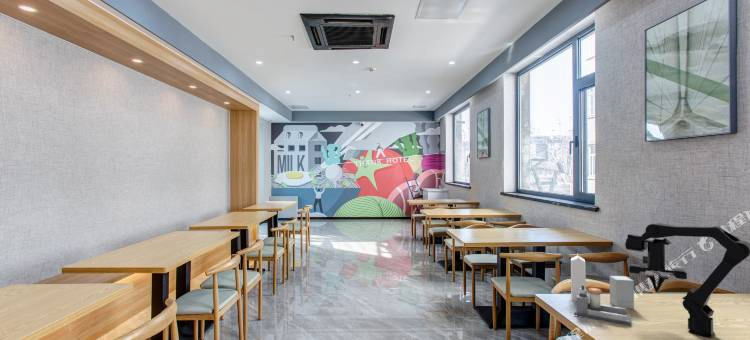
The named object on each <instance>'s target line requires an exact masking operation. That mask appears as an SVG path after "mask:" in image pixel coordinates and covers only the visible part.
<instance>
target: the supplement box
mask: <svg viewBox="0 0 750 340" xmlns="http://www.w3.org/2000/svg"><path fill="white" fill-rule="evenodd" d="M634 284H635V281H634V280H633V279H631V278H630V277H628V276H625V275H609V303H610V304H612V305H613V307H619V308H625V309H635V293H634V292H635V287H634Z"/></svg>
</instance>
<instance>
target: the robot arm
mask: <svg viewBox="0 0 750 340" xmlns="http://www.w3.org/2000/svg"><path fill="white" fill-rule="evenodd" d="M667 237H694V238H695V237H697V238H712V239H714V240H715V241H716V242H717V243H719V245H720V246H721V247H723V248H724V249H726V250H725V253H724V254H723V258H722V260H721V261H720V262H719V264H718V265H717V266H716V267H715V268H714V270H712V272H711V273H710V274H709V276H707V278H706V279H705V281H703V283H702V284H701V285H700V287H699V288H698V289H696V288H695V287H692V288H691V289H689V290H688V291H687V293H686V294H685V296H684V297H682V300H683V301H682V303H681V304H682V306H683V308H684V309H685V310H686V311H687V313H688V316H689V317H688V318H687V330H688V331H687V332H688V333H691V334H694V335H699V336H702V337H705V338H712V337H714V335H715V331H714V318H713V315H714V314H715V310H714V309H712V307H710V306H709V305H708V304H709V301H710V299H711V296H712V294H713V293H714V291H715V290H716V289H717V288H718V287H720V285H721V283H723V282H724V280H725V279H726V278H727V276H728V275H729V274H730V273H731V272H732V271H733V269H735V267H737V265H739V264H740V263H742V262H743V261H744V260H745V259H747V258H749V257H750V243H749V242H748V241H747V240H746V241H745V240H741V239H740V238H738V237H736V236H735V235H734V234H732V233H729V232H728V231H727V230H725V229H724V228H723V227H721V226H719V225H718V226H717V225H714V226H695V225H694V226H692V225H691V226H688V225H687V226H686V225H684V226H683V225H673V224H667V223H661V222H655V223H654V222H653V223H651V224H648V225H646V227H645V231H644V233H643V234H641V235H636V234H631V233H628V234H627V237H626V240H625V243H624V246H625V250H626V251H634V252H641V253H643V252H645V251H647V255H642V264H643V265H646V266H641V264H639V263H638V264H637V263H629V264H628V273H630V274H638V275H639V274H640V273H641V272H643V273H644V275H645V277H646V278H649V280H650V282H651V283H652V286H653V289H654V291H655V293H659V292H660V291H659V290H660V289H661V287H662V285H663V283H664V282H665V281H666V280H669V277H668V276H674V277H675V278H676V279H679V280H688V274H687V271H686V270H685V269H683V268H677V267H675V268H674V267H672V269H666V246H670V245H671V244H672V242H671V241H670V240H669V239H668V238H667ZM661 238H663V239H661ZM650 239H653V240H650ZM655 274H657V282H656V275H655Z"/></svg>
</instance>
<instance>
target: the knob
mask: <svg viewBox="0 0 750 340" xmlns="http://www.w3.org/2000/svg"><path fill="white" fill-rule="evenodd" d="M587 292H589V303H590V306H589V309H591V310H597V311H601V305H602V304H601V294H602V290H601V289H600V288H596V287H588V289H587ZM600 304H601V305H600Z"/></svg>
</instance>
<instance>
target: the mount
mask: <svg viewBox="0 0 750 340" xmlns="http://www.w3.org/2000/svg"><path fill="white" fill-rule="evenodd" d="M600 305H601V311H597V310H591V309H589V306H590V298H589V292H588V291H587V296H581V295H579V292H578V295H577V301H576V306H575V309H574V311H573V316H574V315H577V316H576V317H579V316H581V317H580V318H584V317H586V318H587V319H591V320H595V321H602V322H606V323H607V322H608V323H612V324H618V325H623V326H629V327H631V326H632V317H631V314H630V313H627V308H619V307H616V306H614V305H613V306H612V305H605V304H601V303H600Z"/></svg>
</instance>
